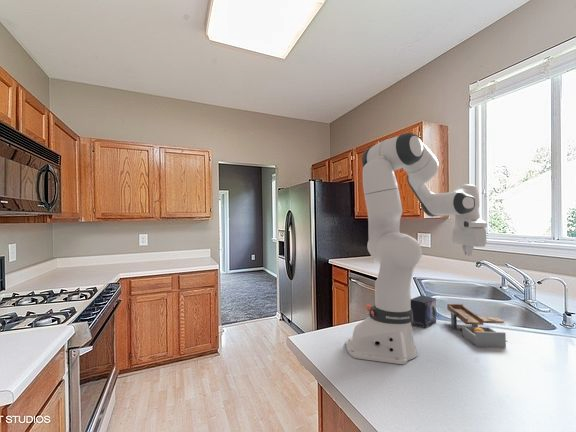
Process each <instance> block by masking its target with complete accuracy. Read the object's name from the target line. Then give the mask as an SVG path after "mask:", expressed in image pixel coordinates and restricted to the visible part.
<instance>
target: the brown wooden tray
mask: <svg viewBox="0 0 576 432" xmlns="http://www.w3.org/2000/svg"><path fill="white" fill-rule="evenodd" d="M447 310H448V311H449V312H450V313H451V312H454V313H455V314H457V319H459V320H460V321H461V322H462V323H464V325H472V324H473V325H478V326H480V325H481V326H484V324H505V323H504V322H505V321H504V320H503V319H500V318H499V317H498V316H497V317H495V316H494V317H493V316H491V317H490V316H488V317H487V316H479V315H478V314H477V313H475V312H474V311H472V310H470V309H469V308H467V307H466V306H465V305H464V304H463V303H447ZM476 314H477V315H476Z"/></svg>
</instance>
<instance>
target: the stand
mask: <svg viewBox="0 0 576 432" xmlns="http://www.w3.org/2000/svg"><path fill="white" fill-rule="evenodd" d="M475 314H476V315H478V314H477V313H475ZM457 319H458V317H457V314H455V313H454V312H450V324H448V327H449V328H450V329H452V330H453V331H462V326H466V327H479V325H473V324H457V321H458V320H457Z"/></svg>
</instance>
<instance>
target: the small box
mask: <svg viewBox="0 0 576 432" xmlns="http://www.w3.org/2000/svg"><path fill="white" fill-rule="evenodd" d="M411 309H412V313H413V326H416V327H419V328H423V329H426V328H428V327H430V326H433V325H435V324H437V298H436V297H431V296H427V295H423V294H422V295H419V296H416V297H413V298H411Z"/></svg>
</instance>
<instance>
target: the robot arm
mask: <svg viewBox="0 0 576 432" xmlns="http://www.w3.org/2000/svg"><path fill="white" fill-rule="evenodd" d="M361 157H362V158H361V164H362V165H361V166H362V167H363V168H362V188H363V195H364V200H365V206H366V211H367V212H366V213H367V221H368V233H367V234H368V241H367V243H366V244H367V251H368V253H369V255H370V256H371V257H372V258H373V259H374V260H376V261H377V262H379V269H378V270H379V271H378V274H377V279H376V280H375V282H374V299H375V300H374V302H375V303H374V305H371V304H370V303H369V304H368V303H367V305H366V306H365V309H366V311H367V312H368V317H366V318H365V319H364V320H362V321H361V322H359V323H358V324H356V325H355V326H354V329H353V331H352V337H349V338H347V339H346V340H345V349H346V351H347V353H348V354H349V355H350V357H352V358H354V359H359V360H365V361H375V362H381V363H388V364H389V363H391V364H395V365H396V364H397V365H406V364H407V363H408V361H410V360H412V359H413V360H414V359H415V358H416V357H417V356H418V351H417V348H416V345H415V341H414V334H413V326H414V325H413V313H412V309H411V299H412V297H411V294H412V293H411V291H412V289H411V288H412V286H411V285H412V280H413V275H414V271H415V269H416V268H415V267H416V266H417V265H418V264H419V262H420V261H421V258H422V255H423V254H422V253H423V250H422V247H421V244H420V242H419V241H418V240H417V239H416V238H414V237H412V236H410V235H409V234H406V233H402V232H401V231H400V228H401V227H400V224H401V217H402V216H403V215H402V214H403V206H402V201H401V195H400V189H399V185H398V180H397V177H396V175H395V174H396V173H395V171H398V170H401V169H403V171H405V173H406V174H407V176H406V180H407V181H406V182H407V184H408V185H409V187H410V189H411V191H412V192H413V194H414V195H415V197H416V198H417V200H418V202H419V204H420V205H421V208H422V210H423V212H424V214H426V215H427V216H429V217H432V218H433V217H434V218H435V217H441V216H443V217H444V216H454V227H453V228H452V235H451V236H452V238H451V241H452V243H453V244H456V245H461V248H462V251H463V255H464V256H466V257H472V256H473V252H474V248H475V247H476V248H477V247H479V248H481V247H482V248H484V247H486V245H487V230H486V228H487V227H488V224H487V221H484V220H483V219H482V218H481V217H480V216H481V215H480V212H479V207H480V195H479V190H478V188H477V185H474V184H470V183H469V184H468V183H463V184H458V185H456V187H455V189H454V190H452V191H448V192H441V193H439V192H438V193H437V192H436V193H435V192H432V191H430V189H429V187H428V185H427V183H428V182H430V181H431V180H432V179H434V177H435V176H436V175H437V173H438V171H439V167H440V166H439V161H438V159H437V157H436V155H435V154H434V153H433V152H432V151H431V149H430V148H429V147H428V146H427V145H426V144H424V142H423V139H421V137H420V136H419V135H417V134H415V133H413V132H404V133H402V134H399V135H398V136H397V135H396V136H393V137H391V138H388V139H384V140H381V141H380V142H378V143H376V144H374V145H371V146H370V147H368V148H367V149H365V150H364V151H363V152H362V156H361Z"/></svg>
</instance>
